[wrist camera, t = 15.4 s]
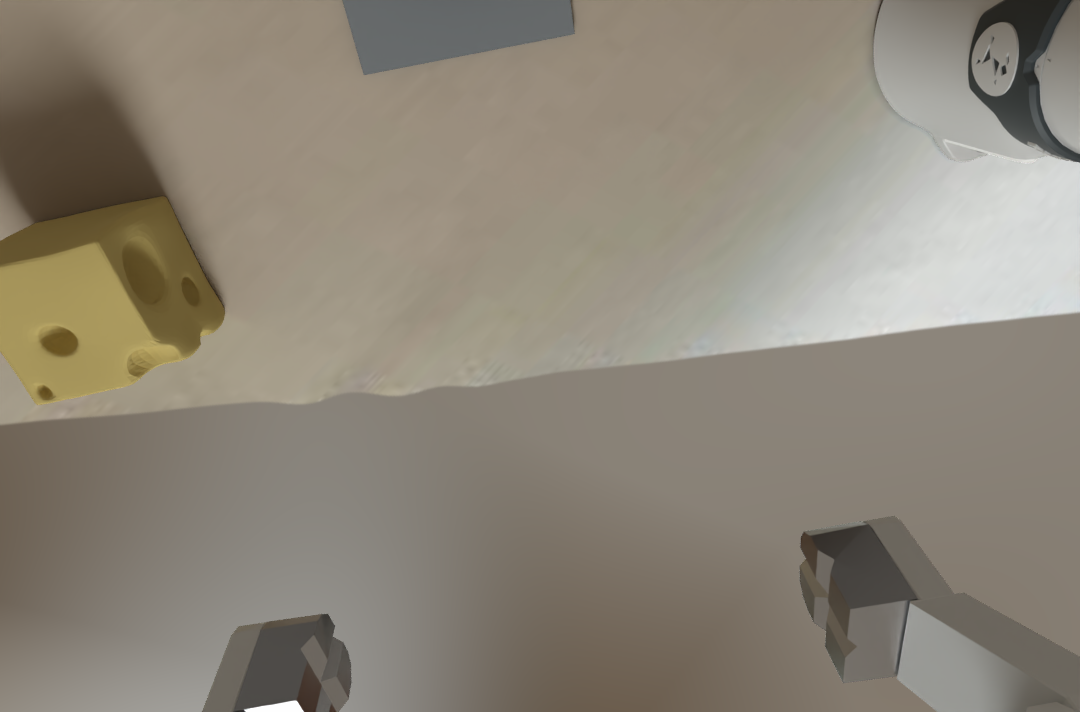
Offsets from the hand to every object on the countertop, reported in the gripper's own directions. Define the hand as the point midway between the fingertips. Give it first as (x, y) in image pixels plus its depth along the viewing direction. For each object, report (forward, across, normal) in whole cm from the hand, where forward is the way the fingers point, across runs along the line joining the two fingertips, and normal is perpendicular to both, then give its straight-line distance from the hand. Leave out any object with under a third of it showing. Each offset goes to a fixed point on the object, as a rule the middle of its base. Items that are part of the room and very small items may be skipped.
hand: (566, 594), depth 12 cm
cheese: (+41, +30, +6) cm, 51 cm away
